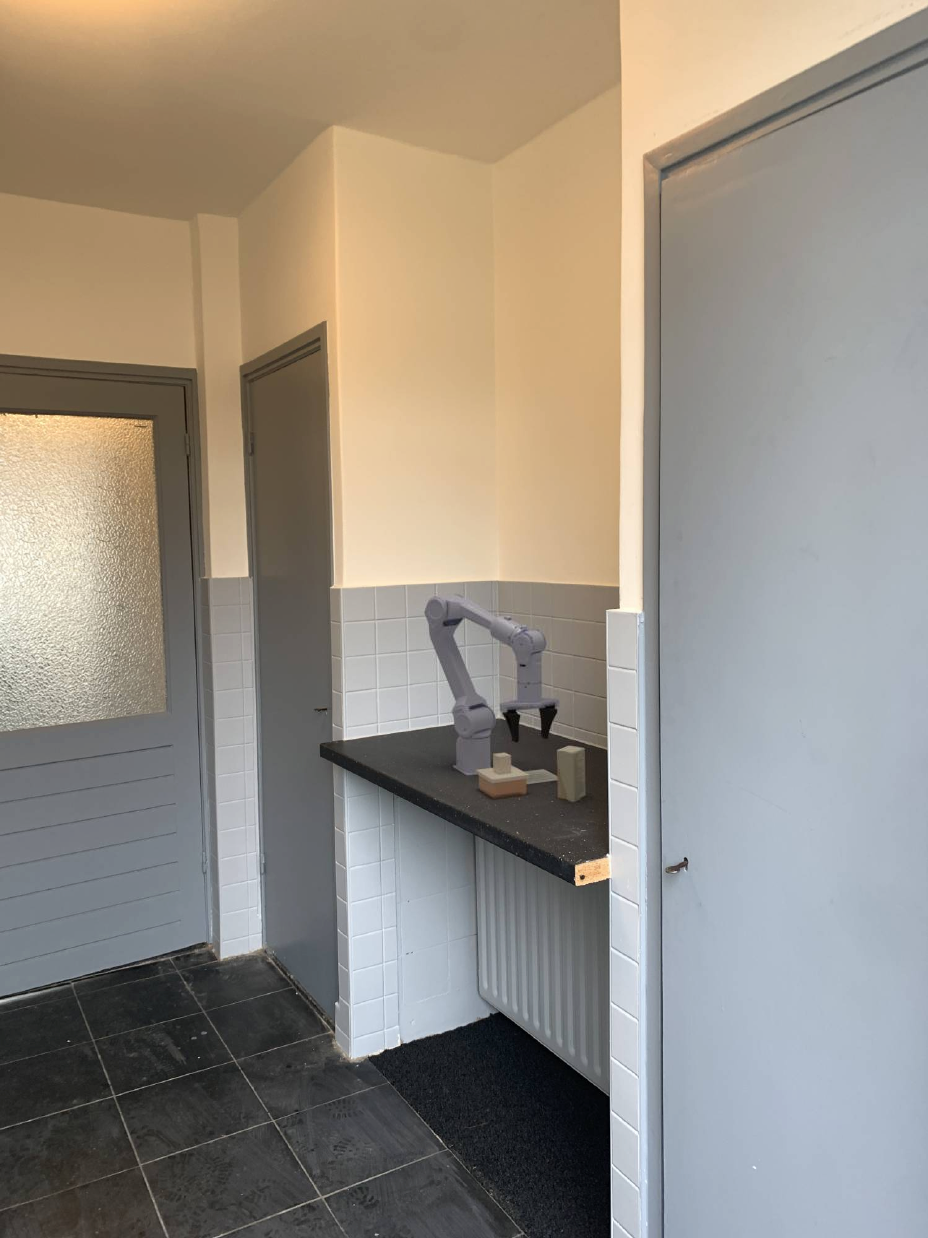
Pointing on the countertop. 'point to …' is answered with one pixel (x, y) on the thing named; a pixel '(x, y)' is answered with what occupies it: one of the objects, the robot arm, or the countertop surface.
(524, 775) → the lid
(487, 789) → the dish
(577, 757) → the box
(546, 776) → the mat
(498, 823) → the countertop surface
